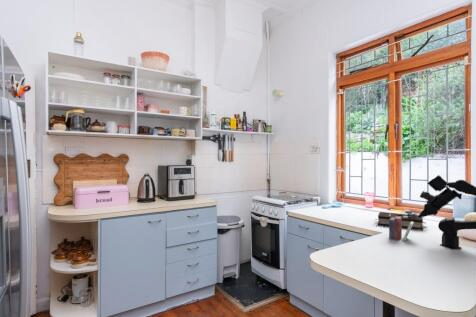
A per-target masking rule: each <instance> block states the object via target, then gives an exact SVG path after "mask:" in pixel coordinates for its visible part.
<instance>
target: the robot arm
mask: <svg viewBox="0 0 476 317" xmlns="http://www.w3.org/2000/svg"><path fill="white" fill-rule="evenodd" d="M427 185H428V186H429V187H431V188H432V189H433V190H434V191H435V192H439V194H436V195H433V194H431V193H430V192H428V191H424V190H422V191H421V194H420V195H419V198H421V199H424V200H426V202H425V204H424V206H423V210H421V212H420V213H419V214H417V215H418V217H419V218H421V217H422V218H424V217H428V216H432V215H433V216H436V215H437V214H438V213H439V211H440V210H441V209H442V208H443V207H445V206H447V205H448V204H449V203H450V202H452V201H453V200H455V199H456V198H458V199H459V200H462V196H463V194H467V195H471V196H475V197H476V186H475V185H473V184H472V183H470V182H468V181H467V180H465V179H458V180H456V181H452V182H451V181H449V182H447V181H446V180H445V179H444V178H442V176H441V175H439V174H438V175H436V176H435V177H434V178H432V179H431V180H429V181H428V183H427ZM462 193H463V194H462ZM437 227H438V229H439V231H441V232H442V233H441V244H439V246H441V247H443V248H447V249H451V250H457V249H458V250H459V249H462V247H461V246H460V236H459V235H458V232H459V231H462V230H476V220H456V218H455V217H450V218H449V217H444V218H443V219H441V220H440V221H439V223H438V226H437Z"/></svg>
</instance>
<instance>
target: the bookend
mask: <svg viewBox="0 0 476 317" xmlns="http://www.w3.org/2000/svg"><path fill="white" fill-rule="evenodd" d="M413 223H414V222H412V221H411V223H410V224H409V227H408V229H407V228H406V231H405V234H404V236H403V237H402V241H404V242H405V241H406V240H407V239H408V236H409V234H410V232H411V230H412V229H411V228H412V225H413Z"/></svg>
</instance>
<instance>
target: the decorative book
mask: <svg viewBox="0 0 476 317" xmlns="http://www.w3.org/2000/svg"><path fill="white" fill-rule="evenodd" d="M418 215H419V214H417V213H416V212H415V213H397V212H387V211H386V212H384V211H379V213H378V214H377V218H375V221H376V220H377V221H378V223H377V225H378V226H381V227H389V219H390V218H391V217H394V218H395V217H396V216H401V217H402V229H406V230H407V229H408V227H409V224H410V223H411V221H412V222H414V223H413V225H412V228H411V230H416V231H424V228H423V225H424V224H426V223H427V222H426V221H425V222H424V219H423V217H421V218H419V217H418Z"/></svg>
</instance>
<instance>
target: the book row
mask: <svg viewBox="0 0 476 317" xmlns="http://www.w3.org/2000/svg"><path fill="white" fill-rule="evenodd" d="M388 228H389V229H388V240H395V241H400V240H401V239H403V237H402V233H403V230H402V229H403V228H402V217H401V216H396V217H395V218H394V217H391V218H390V219H389V226H388Z"/></svg>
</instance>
